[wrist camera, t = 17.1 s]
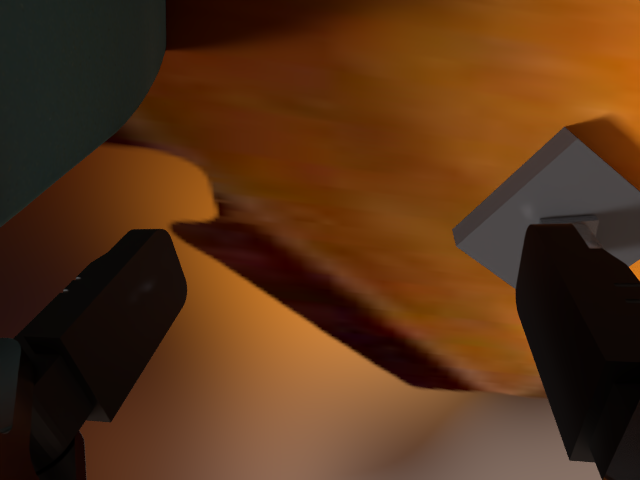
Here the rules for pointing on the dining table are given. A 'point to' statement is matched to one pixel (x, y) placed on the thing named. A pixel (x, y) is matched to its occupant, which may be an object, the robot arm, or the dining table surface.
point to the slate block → (552, 206)
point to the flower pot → (69, 84)
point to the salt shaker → (580, 227)
